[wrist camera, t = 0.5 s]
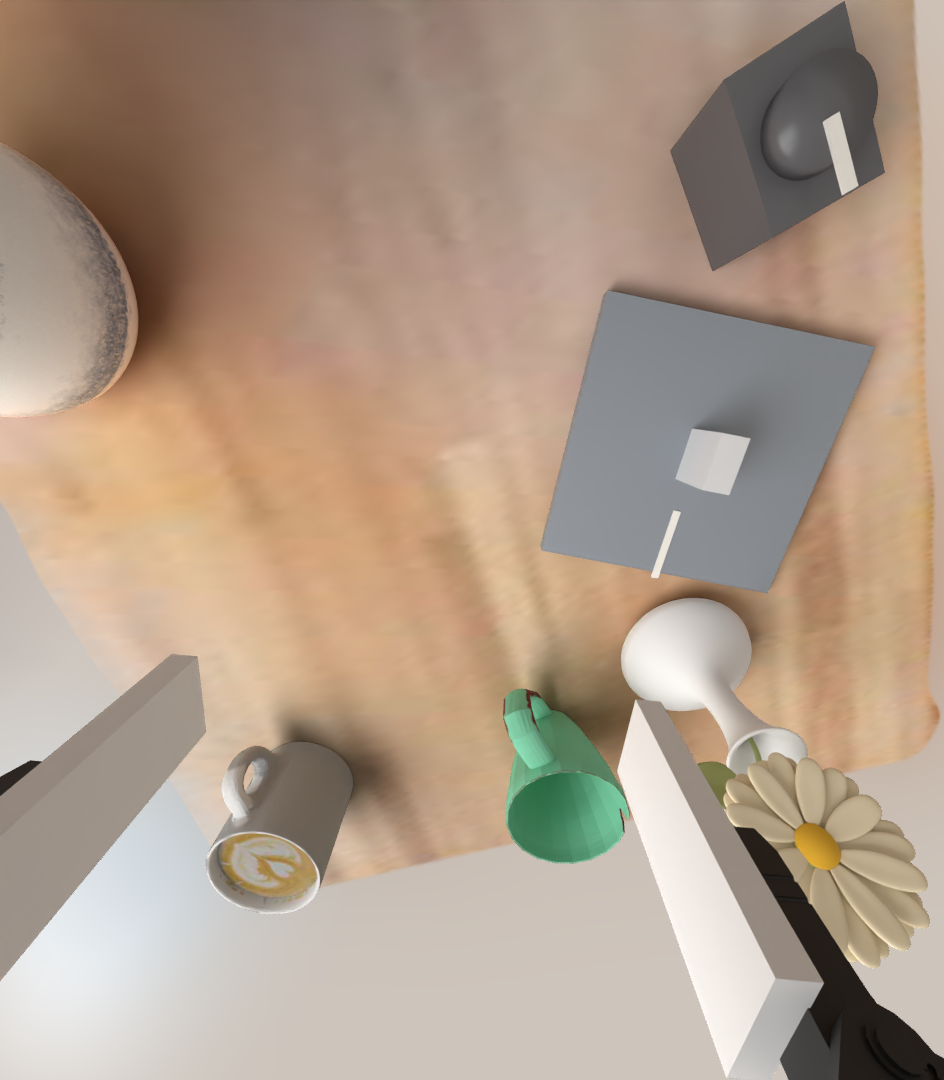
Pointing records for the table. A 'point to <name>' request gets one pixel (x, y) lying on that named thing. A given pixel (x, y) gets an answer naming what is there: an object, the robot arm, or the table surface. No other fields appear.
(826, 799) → the flower in vase
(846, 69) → the knob
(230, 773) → the coffee mug
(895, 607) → the table surface
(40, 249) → the lamp
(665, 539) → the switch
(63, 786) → the robot arm
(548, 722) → the mug
